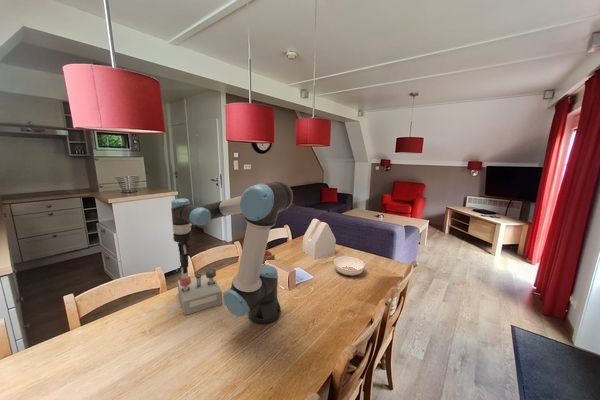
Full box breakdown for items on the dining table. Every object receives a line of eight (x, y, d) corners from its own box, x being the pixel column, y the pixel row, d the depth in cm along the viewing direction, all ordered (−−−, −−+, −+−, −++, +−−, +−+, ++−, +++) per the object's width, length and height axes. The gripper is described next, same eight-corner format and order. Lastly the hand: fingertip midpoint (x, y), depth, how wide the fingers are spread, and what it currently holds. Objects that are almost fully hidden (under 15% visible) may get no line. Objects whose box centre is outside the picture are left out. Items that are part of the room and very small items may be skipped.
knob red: (192, 296, 118) (191, 279, 116) (181, 299, 115) (180, 282, 114) (190, 291, 122) (189, 275, 120) (180, 294, 119) (179, 277, 118)
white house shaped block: (314, 259, 172) (316, 225, 167) (302, 251, 185) (303, 220, 180) (334, 254, 183) (337, 222, 178) (322, 247, 195) (324, 217, 190)
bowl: (367, 270, 159) (368, 261, 158) (357, 282, 143) (358, 273, 142) (340, 262, 169) (340, 253, 168) (328, 273, 153) (328, 264, 152)
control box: (222, 304, 119) (221, 291, 118) (184, 315, 110) (183, 301, 108) (211, 284, 135) (211, 273, 134) (178, 293, 126) (177, 281, 125)
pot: (202, 286, 121) (201, 275, 120) (196, 287, 119) (196, 277, 118) (201, 284, 123) (200, 273, 122) (195, 285, 122) (195, 274, 120)
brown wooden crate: (274, 262, 166) (274, 255, 165) (251, 267, 156) (251, 260, 155) (268, 256, 174) (268, 250, 173) (245, 261, 164) (245, 254, 163)
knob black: (217, 288, 124) (216, 272, 123) (207, 290, 122) (207, 274, 120) (215, 283, 128) (214, 268, 126) (205, 286, 126) (204, 270, 124)
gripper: (193, 234, 109) (195, 282, 114) (188, 226, 119) (191, 270, 124) (174, 237, 105) (178, 286, 110) (171, 228, 115) (174, 274, 120)
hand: (185, 278), depth 117 cm, fingers closed
